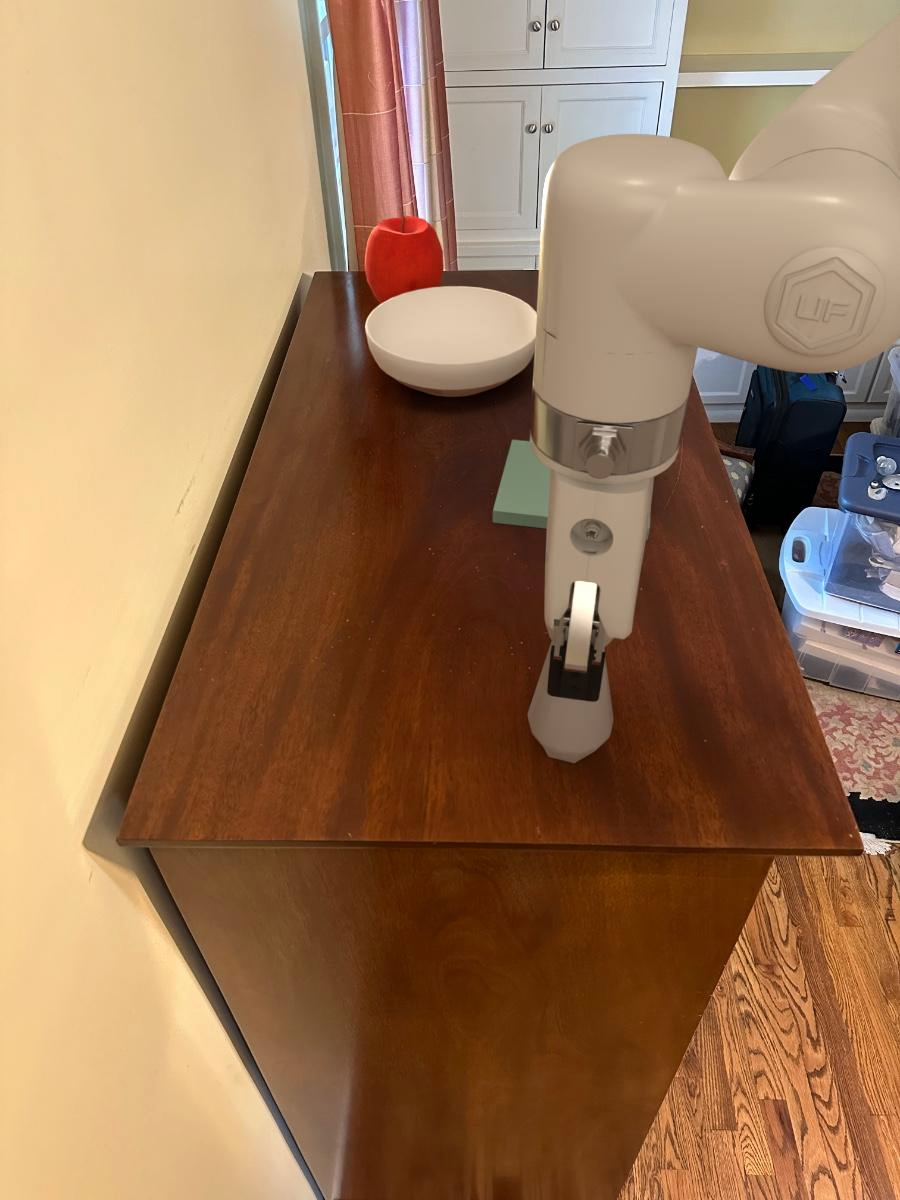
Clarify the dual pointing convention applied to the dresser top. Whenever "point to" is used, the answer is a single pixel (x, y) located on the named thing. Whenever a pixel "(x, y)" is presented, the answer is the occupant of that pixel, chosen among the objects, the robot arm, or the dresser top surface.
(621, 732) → the dresser top surface
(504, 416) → the dresser top surface
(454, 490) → the dresser top surface
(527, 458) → the green flat block
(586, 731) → the salt shaker
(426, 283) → the apple
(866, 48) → the robot arm
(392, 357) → the bowl
